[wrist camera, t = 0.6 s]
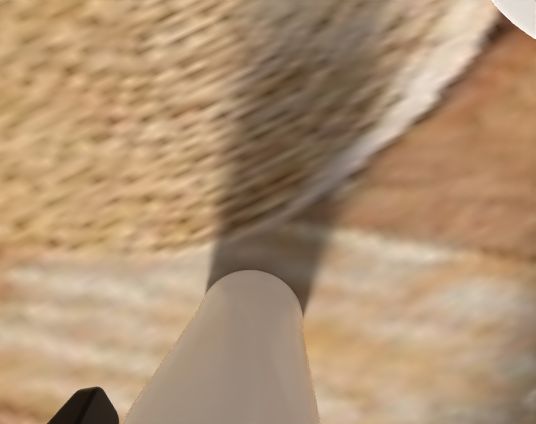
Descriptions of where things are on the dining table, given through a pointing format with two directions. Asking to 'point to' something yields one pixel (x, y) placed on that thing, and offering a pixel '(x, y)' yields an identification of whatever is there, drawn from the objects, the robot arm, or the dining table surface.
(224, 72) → the dining table surface
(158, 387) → the drinking glass
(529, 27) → the candle holder
